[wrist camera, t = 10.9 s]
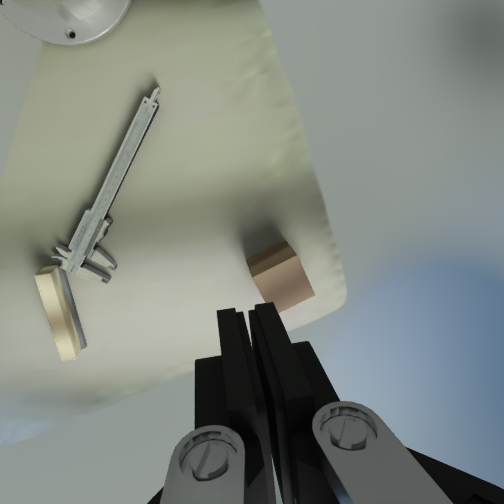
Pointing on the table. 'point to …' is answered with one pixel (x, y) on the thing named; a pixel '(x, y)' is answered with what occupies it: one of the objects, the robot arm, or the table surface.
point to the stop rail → (61, 311)
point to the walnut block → (280, 276)
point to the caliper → (106, 203)
